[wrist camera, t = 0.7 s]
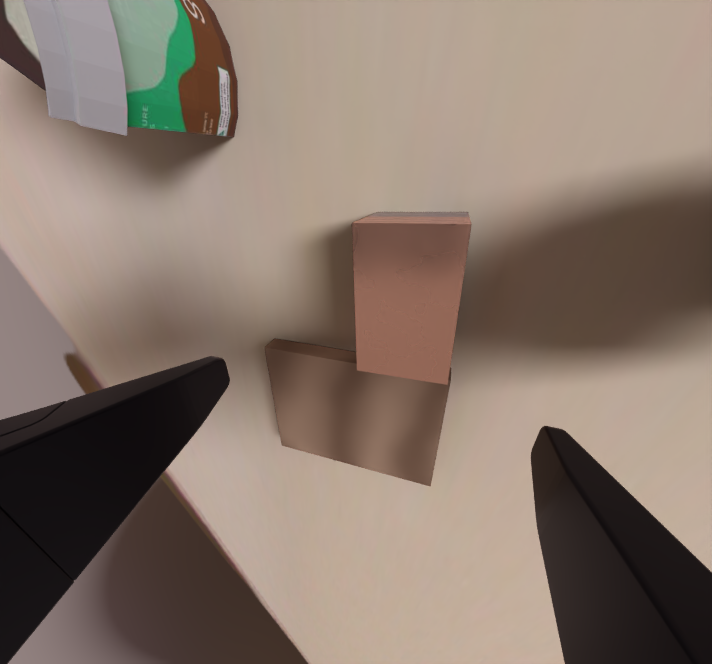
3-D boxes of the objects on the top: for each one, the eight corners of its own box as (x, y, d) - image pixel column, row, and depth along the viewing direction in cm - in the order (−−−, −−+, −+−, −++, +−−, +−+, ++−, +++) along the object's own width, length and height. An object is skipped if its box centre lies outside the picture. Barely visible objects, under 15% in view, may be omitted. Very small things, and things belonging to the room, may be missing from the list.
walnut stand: (451, 367, 20) (450, 380, 19) (431, 470, 25) (430, 486, 24) (274, 338, 24) (264, 347, 23) (289, 433, 29) (281, 445, 28)
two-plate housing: (467, 211, 16) (471, 224, 11) (449, 339, 19) (447, 384, 15) (378, 211, 17) (352, 222, 13) (377, 331, 21) (356, 370, 17)
